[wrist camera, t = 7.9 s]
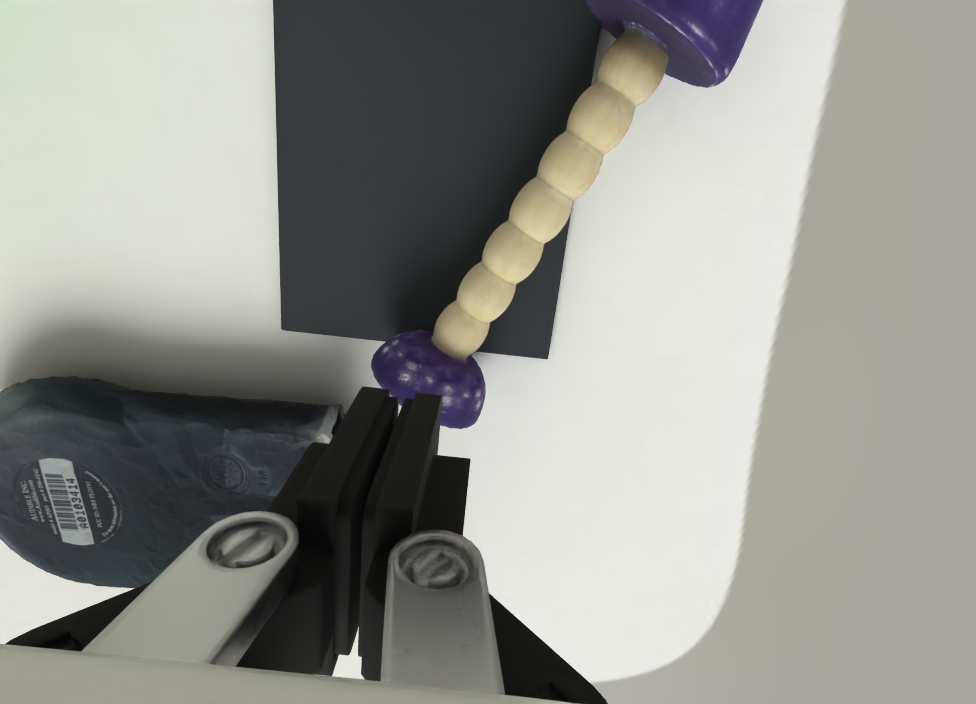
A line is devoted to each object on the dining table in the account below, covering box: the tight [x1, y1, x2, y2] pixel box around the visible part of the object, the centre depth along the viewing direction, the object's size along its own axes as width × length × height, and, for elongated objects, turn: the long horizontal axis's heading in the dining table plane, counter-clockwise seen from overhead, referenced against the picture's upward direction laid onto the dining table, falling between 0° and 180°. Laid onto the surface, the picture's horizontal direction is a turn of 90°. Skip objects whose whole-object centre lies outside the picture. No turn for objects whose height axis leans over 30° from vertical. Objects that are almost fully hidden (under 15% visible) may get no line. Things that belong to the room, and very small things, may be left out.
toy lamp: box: [371, 0, 763, 429], centre depth 17 cm, size 5×5×17 cm
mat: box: [273, 0, 601, 359], centre depth 17 cm, size 20×10×1 cm, turn 174°
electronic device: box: [0, 376, 345, 588], centre depth 22 cm, size 9×6×15 cm
